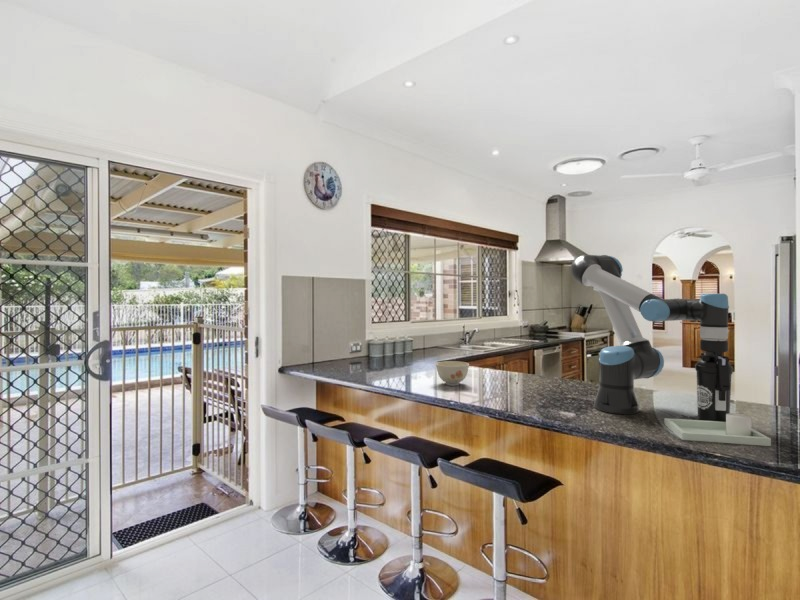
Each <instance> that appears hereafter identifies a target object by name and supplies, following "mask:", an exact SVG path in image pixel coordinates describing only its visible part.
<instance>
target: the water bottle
mask: <svg viewBox="0 0 800 600" xmlns="http://www.w3.org/2000/svg"><path fill="white" fill-rule="evenodd" d="M698 357H699V358H700V359H699V360H698V361H697V362H696V363H695V366H694V367H695V369H694V370H695V371H696V404H697V406H696V407H697V408H696V409H697V420H703V421H719V422H726V414H728V413H731V412H730V411H731V395H732V394H731V391H732V375H733V373H734V367H733V366H732V364H731V363H730V358H729V357H728V356H727V355H726V356H725V355H723V359H728V372H729V381H730V390H727V391H726V411H721V410H715V388H717V386H716V376H718V364H717V362H715V361H714V360H711V358H714V357H710V356H704V355H701V354H700V355H698ZM701 358H702V359H701ZM722 366H723V365H722ZM718 377H719V376H718Z"/></svg>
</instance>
